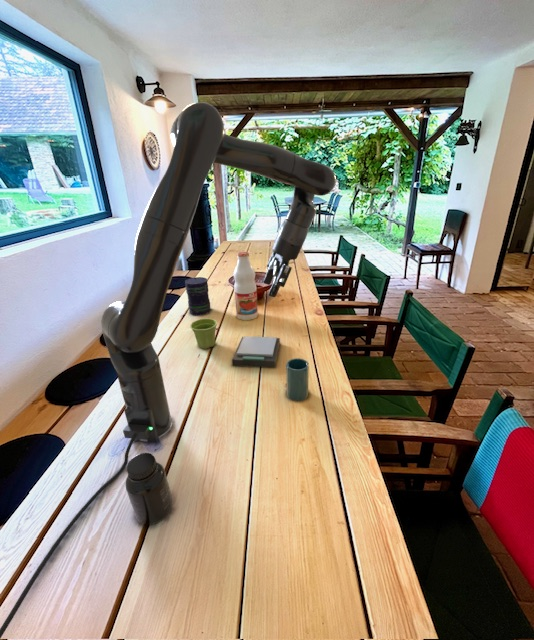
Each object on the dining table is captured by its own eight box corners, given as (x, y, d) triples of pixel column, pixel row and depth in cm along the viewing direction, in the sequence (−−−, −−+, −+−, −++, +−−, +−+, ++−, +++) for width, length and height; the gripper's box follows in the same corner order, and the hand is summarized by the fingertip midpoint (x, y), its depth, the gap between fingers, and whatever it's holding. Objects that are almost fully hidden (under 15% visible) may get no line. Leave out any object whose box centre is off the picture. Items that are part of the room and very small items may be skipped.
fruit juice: (251, 310, 148) (247, 249, 136) (261, 317, 140) (258, 253, 129) (233, 315, 143) (227, 252, 132) (242, 322, 136) (237, 256, 124)
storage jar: (213, 313, 146) (209, 281, 140) (191, 317, 143) (186, 285, 137) (208, 306, 154) (204, 276, 148) (187, 309, 151) (183, 279, 145)
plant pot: (214, 352, 114) (211, 330, 110) (189, 350, 116) (186, 328, 112) (222, 339, 122) (220, 319, 119) (199, 338, 124) (196, 317, 120)
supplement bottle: (159, 486, 65) (148, 441, 60) (180, 505, 61) (169, 459, 56) (128, 511, 61) (113, 465, 56) (148, 534, 57) (133, 487, 52)
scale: (274, 367, 103) (274, 359, 102) (232, 365, 105) (231, 357, 104) (279, 343, 118) (279, 335, 116) (242, 342, 120) (241, 334, 118)
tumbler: (307, 401, 87) (308, 370, 83) (285, 400, 88) (285, 369, 84) (308, 388, 93) (309, 358, 89) (287, 387, 94) (287, 357, 90)
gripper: (273, 227, 94) (253, 276, 100) (284, 242, 82) (261, 297, 88) (296, 235, 96) (275, 283, 103) (309, 251, 84) (285, 304, 91)
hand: (268, 289), depth 96 cm, fingers open, 8 cm apart
